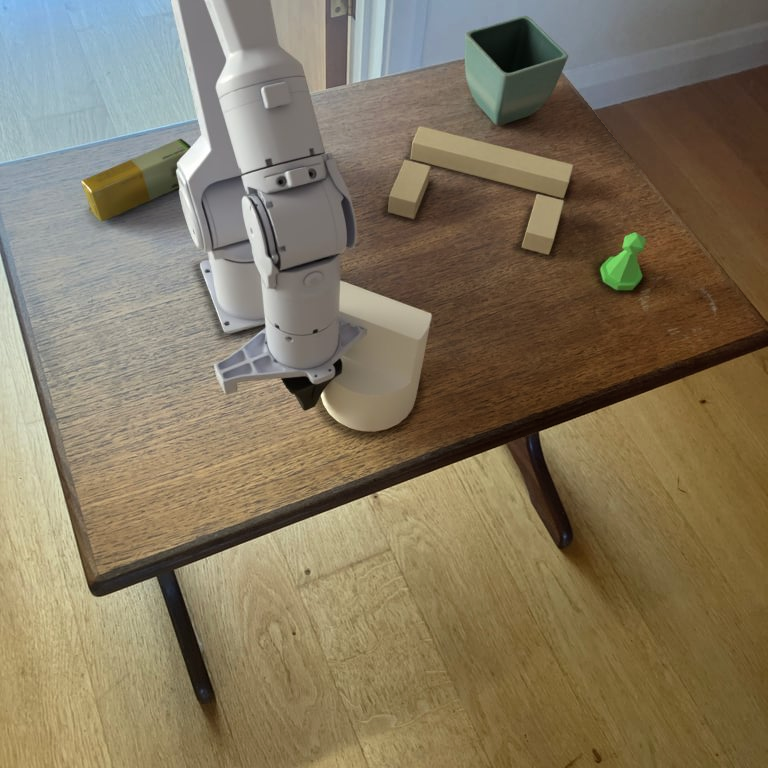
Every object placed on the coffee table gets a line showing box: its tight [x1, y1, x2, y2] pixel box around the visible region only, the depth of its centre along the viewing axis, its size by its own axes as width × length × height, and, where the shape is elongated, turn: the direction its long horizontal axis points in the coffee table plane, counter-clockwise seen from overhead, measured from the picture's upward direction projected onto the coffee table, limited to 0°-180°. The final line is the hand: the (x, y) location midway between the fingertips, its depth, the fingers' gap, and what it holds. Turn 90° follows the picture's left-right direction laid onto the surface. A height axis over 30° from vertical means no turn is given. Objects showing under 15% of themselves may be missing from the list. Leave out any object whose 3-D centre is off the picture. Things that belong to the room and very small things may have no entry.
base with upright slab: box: [320, 280, 432, 433], centre depth 72 cm, size 9×9×12 cm
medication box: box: [80, 138, 192, 222], centre depth 87 cm, size 12×3×4 cm, turn 129°
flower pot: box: [464, 15, 569, 126], centre depth 96 cm, size 9×9×9 cm
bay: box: [387, 125, 574, 255], centre depth 91 cm, size 12×18×2 cm, turn 73°
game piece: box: [599, 231, 647, 291], centre depth 84 cm, size 4×4×6 cm
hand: (305, 400), depth 73 cm, fingers closed
